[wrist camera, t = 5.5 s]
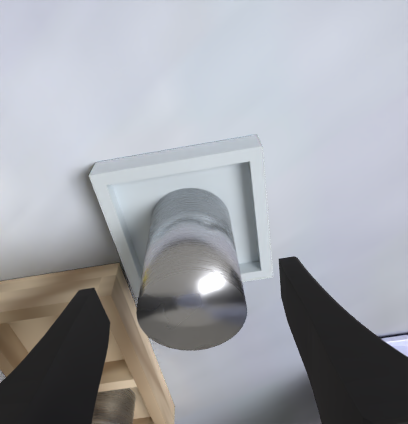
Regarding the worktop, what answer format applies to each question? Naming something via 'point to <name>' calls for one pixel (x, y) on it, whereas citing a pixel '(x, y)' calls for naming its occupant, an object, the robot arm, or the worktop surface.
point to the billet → (191, 273)
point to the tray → (188, 178)
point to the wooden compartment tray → (118, 337)
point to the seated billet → (114, 407)
